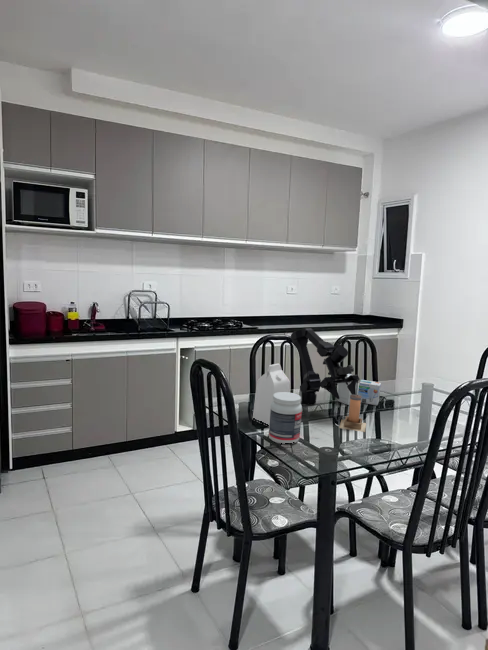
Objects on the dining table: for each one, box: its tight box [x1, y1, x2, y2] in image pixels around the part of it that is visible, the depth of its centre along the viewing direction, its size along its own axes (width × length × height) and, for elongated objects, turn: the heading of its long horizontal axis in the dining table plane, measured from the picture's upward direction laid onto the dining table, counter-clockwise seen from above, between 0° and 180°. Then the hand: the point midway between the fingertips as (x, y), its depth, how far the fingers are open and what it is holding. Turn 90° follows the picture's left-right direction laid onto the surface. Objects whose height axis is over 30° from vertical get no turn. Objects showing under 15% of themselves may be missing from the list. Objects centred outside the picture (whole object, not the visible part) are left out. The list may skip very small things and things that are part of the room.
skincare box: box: [336, 374, 358, 406], centre depth 238 cm, size 8×6×15 cm
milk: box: [252, 363, 291, 425], centre depth 206 cm, size 12×12×26 cm
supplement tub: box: [268, 391, 303, 445], centre depth 186 cm, size 13×13×18 cm
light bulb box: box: [357, 379, 382, 406], centre depth 241 cm, size 11×7×11 cm, turn 68°
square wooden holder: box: [338, 415, 367, 433], centre depth 203 cm, size 11×11×4 cm
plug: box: [348, 394, 362, 423], centre depth 202 cm, size 5×5×14 cm
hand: (346, 397), depth 206 cm, fingers open, 9 cm apart
